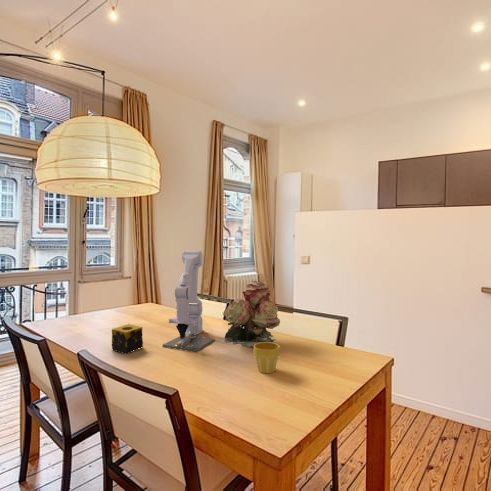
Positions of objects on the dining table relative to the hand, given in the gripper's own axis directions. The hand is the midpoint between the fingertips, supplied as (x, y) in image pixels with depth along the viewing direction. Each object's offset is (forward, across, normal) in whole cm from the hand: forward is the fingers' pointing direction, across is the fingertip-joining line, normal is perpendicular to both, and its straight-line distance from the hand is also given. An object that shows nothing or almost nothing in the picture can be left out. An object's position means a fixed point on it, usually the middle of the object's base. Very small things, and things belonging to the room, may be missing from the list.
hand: (182, 339), depth 169 cm
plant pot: (+3, +46, -11) cm, 48 cm away
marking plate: (+3, +2, +4) cm, 5 cm away
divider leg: (+1, +1, +3) cm, 3 cm away
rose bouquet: (+3, +28, +22) cm, 36 cm away
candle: (+3, -20, -15) cm, 25 cm away
